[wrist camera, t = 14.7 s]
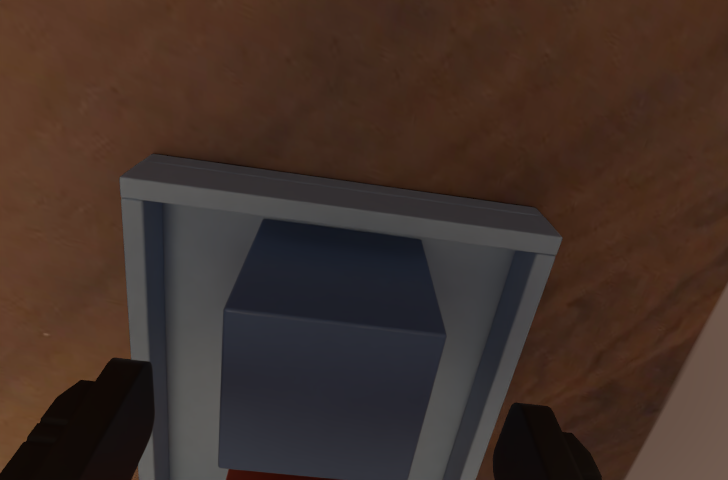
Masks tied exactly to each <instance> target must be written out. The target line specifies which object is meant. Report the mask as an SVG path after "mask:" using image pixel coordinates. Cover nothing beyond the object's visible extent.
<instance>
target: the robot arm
mask: <svg viewBox="0 0 728 480" xmlns="http://www.w3.org/2000/svg"><path fill="white" fill-rule="evenodd" d="M154 419H155V405H154V387H153V369H152V364H151V362H149V361H140V360H131V359H122V358H112V359H111V360H110V361H109V362H108V363H107V365H106V366H105V368H104V369H103V371H102V372H101V374H100V375H99V377H98V378H97V380H96V381H86V380H80V381H79V382H77V383H76V384H75V385H73V386H72V387H70V388H69V389H68V390H66V391H65V392H63V393H62V394H61V395H59V396H58V397H57V398H56V399H55V400H54V402H53V403H52V404H51V406H50V407H49V409H48V410H47V411H46V413H45V414H44V415H43V417H42V418H41V421H40V423H37V425H36V426H35V427H34V429H33V430H32V431H31V433H30V434H29V435H28V437H27V441H26V442H23V444H22V445H21V446H20V448H19V449H18V450H17V452H16V453H15V454H14V456H13V457H12V458H11V460H10V461H9V462H8V464H7V465H6V466H5V468H4V469H3V471H2V472H1V473H0V480H131V479H132V476H133V474H134V472H135V470H136V468H137V466H138V464H139V461H140V459H141V457H142V455H143V453H144V451H145V449H146V446H147V444H148V442H149V439H150V437H151V433H152V430H153V425H154ZM493 473H494V478H495V480H602V479H601V477H602V476H601V474H600V472H599V470H598V468H597V466H596V464H595V462H594V460H593V458H592V456H591V454H590V452H589V451H588V450H587V449H586V448H585V447H584V446H583V445H582V444H581V443H580V441H579V440H578V439H577V438H576V437H575V436H574V435H573V434H572V433H566V432H562V431H561V428H560V426H559V424H558V422H557V420H556V417H555V415H554V413H553V411H552V410H551V408H549V407H548V406H541V405H532V404H523V403H514V404H513V405H512V406H511V408H510V410H509V413H508V415H507V418H506V421H505V423H504V426H503V428H502V431H501V434H500V436H499V439H498V441H497V444H496V447H495V450H494V455H493Z"/></svg>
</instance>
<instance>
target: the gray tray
mask: <svg viewBox="0 0 728 480" xmlns="http://www.w3.org/2000/svg"><path fill="white" fill-rule="evenodd" d="M120 194H121V197H122V199H121V206H122V222H123V237H124V253H125V269H126V284H127V300H128V316H129V331H130V347H131V360H140V361H149V362H151V364H152V369H153V387H154V405H155V419H154V425H153V430H152V433H151V437H150V439H149V442H148V444H147V446H146V449H145V451H144V453H143V455H142V457H141V459H140V461H139V464H138V472H139V480H226V477H227V473H228V470H229V469H224V468H219V467H218V448H219V419H220V390H221V360H222V331H223V309H224V307H225V305H226V302H227V300H228V298H229V295H230V293H231V291H232V289H233V286H234V284H235V282H236V279H237V277H238V275H239V272H240V270H241V268H242V266H243V263H244V261H245V259H246V256H247V254H248V252H249V250H250V247H251V245H252V243H253V240H254V238H255V236H256V234H257V231H258V229H259V227H260V224H261V222H262V220H263V219H269V220H277V221H284V222H292V223H299V224H307V225H314V226H322V227H329V228H337V229H345V230H352V231H360V232H367V233H375V234H382V235H390V236H397V237H405V238H412V239H420V240H422V243H423V247H424V251H425V255H426V258H427V262H428V266H429V270H430V273H431V277H432V281H433V285H434V289H435V292H436V296H437V300H438V304H439V307H440V311H441V315H442V319H443V323H444V326H445V330H446V334H447V338H446V342H445V346H444V349H443V353H442V357H441V360H440V364H439V368H438V371H437V375H436V378H435V382H434V386H433V389H432V393H431V397H430V400H429V404H428V408H427V411H426V415H425V419H424V422H423V426H422V430H421V433H420V437H419V441H418V444H417V448H416V451H415V455H414V459H413V462H412V466H411V470H410V473H409V477H408V480H475V479H476V477H477V474H478V471H479V468H480V466H481V463H482V460H483V457H484V454H485V452H486V449H487V446H488V443H489V441H490V438H491V435H492V432H493V429H494V427H495V424H496V421H497V418H498V415H499V413H500V410H501V407H502V404H503V402H504V399H505V396H506V393H507V390H508V388H509V385H510V382H511V379H512V377H513V374H514V371H515V368H516V365H517V363H518V360H519V357H520V354H521V352H522V349H523V346H524V343H525V340H526V338H527V335H528V332H529V329H530V327H531V324H532V321H533V318H534V315H535V313H536V310H537V307H538V304H539V301H540V299H541V296H542V293H543V290H544V288H545V285H546V282H547V279H548V276H549V274H550V271H551V268H552V265H553V263H554V260H555V255H557V252H558V249H559V247H560V244H561V241H562V237H561V235H560V234H559V233H558V232H557V231H556V230H555V228H554V227H553V226H552V225H551V224H550V223H549V221H548V220H547V219H546V218H545V217H543V215H542V214H541V213H540V212H539V211H538V209H537V208H534V207H527V206H520V205H513V204H506V203H498V202H491V201H484V200H477V199H470V198H463V197H456V196H449V195H442V194H435V193H428V192H420V191H413V190H406V189H399V188H392V187H385V186H378V185H371V184H364V183H357V182H349V181H342V180H335V179H328V178H321V177H314V176H307V175H300V174H293V173H286V172H278V171H271V170H264V169H257V168H250V167H243V166H236V165H229V164H222V163H215V162H207V161H200V160H193V159H186V158H179V157H172V156H165V155H158V154H151V155H150V156H148V157H147V158H146V159H144V160H143V161H141V162H139V163H138V164H137V165H135V166H134V167H133V168H131V169H130V170H129V171H127V172H126V173H124V174H123V175H122V176H120Z"/></svg>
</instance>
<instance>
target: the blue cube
mask: <svg viewBox="0 0 728 480" xmlns="http://www.w3.org/2000/svg"><path fill="white" fill-rule="evenodd" d="M446 338H447V334H446V330H445V326H444V323H443V319H442V315H441V311H440V307H439V304H438V300H437V296H436V292H435V289H434V285H433V281H432V277H431V273H430V270H429V266H428V262H427V258H426V255H425V251H424V247H423V243H422V240H420V239H412V238H405V237H397V236H390V235H382V234H375V233H367V232H360V231H352V230H345V229H337V228H329V227H322V226H314V225H307V224H299V223H292V222H284V221H277V220H269V219H263V220H262V222H261V224H260V227H259V229H258V231H257V234H256V236H255V238H254V240H253V243H252V245H251V247H250V250H249V252H248V254H247V256H246V259H245V261H244V263H243V266H242V268H241V270H240V272H239V275H238V277H237V279H236V282H235V284H234V286H233V289H232V291H231V293H230V295H229V298H228V300H227V302H226V305H225V307H224V309H223V331H222V360H221V390H220V419H219V448H218V467H219V468H224V469H234V470H245V471H255V472H266V473H276V474H287V475H297V476H308V477H318V478H329V479H339V480H408V477H409V473H410V470H411V466H412V462H413V459H414V455H415V451H416V448H417V444H418V441H419V437H420V433H421V430H422V426H423V422H424V419H425V415H426V411H427V408H428V404H429V400H430V397H431V393H432V389H433V386H434V382H435V378H436V375H437V371H438V368H439V364H440V360H441V357H442V353H443V349H444V346H445V342H446Z"/></svg>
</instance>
